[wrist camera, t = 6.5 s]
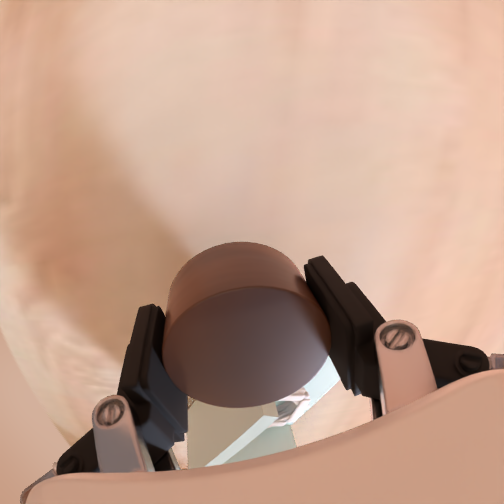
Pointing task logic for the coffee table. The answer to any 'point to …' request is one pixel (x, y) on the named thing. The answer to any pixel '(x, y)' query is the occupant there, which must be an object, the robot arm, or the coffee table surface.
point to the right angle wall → (251, 425)
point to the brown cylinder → (242, 327)
